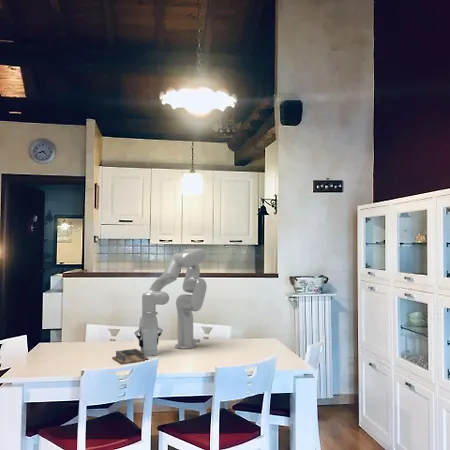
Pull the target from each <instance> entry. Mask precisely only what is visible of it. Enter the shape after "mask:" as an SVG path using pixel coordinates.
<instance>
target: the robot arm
mask: <svg viewBox="0 0 450 450" xmlns="http://www.w3.org/2000/svg"><path fill="white" fill-rule="evenodd" d="M206 258H207V252H206V251H205V249H204V248H186V249H184V250H183V251H182V252H176V253H173V255H171V258H170V259H169V262H168V264H166V267H165V268H164V271H163V272H162V274H161V275H160V276H159V277H158V278H157V279H155V280H154V281H153V283H152V284H151V286H150V287H149V289H148V291H147V292H144V293H142V295H141V301H142V302H141V311H142V312H141V317H140V318H139V326H138V329H137V330H135V331H134V333H133V334H134V335H135V338H137V340H138V346H139V348H141V347H143V340H142V339H143V330H150V329H157V346H158V345H159V338H160V337H161V336H162V334H163V331H164V330H163V329H162V328H160V327H159V323H158V316H157V315H158V314H159V313H158V311H156V309H157V307H156V306H157V305H158V306H159V305H160V306H164V305H166V304H168V303H169V301H170V295H169V294H168V293H167V292H165V291H162V289H163V288H164V287H166V286H167V285H170V284H171V283H174V282H176V281H177V279H178V277H179V274H180V272H181V271H182V269H183V268H186V271H185V276H184V279H183V283H182V290H183V292H185V294H180V295H179V296H177V297H176V300H175V306H176V307H175V308H176V311H177V312H176V313H177V343H176V344H175V345H174V347H175V348H176V349H180V350H181V349H182V350H186V349H194V348H196V347H197V345H196V343H201V339H199V338H194V315H193V312H198V311H201V309H202V307H203V304H204V301H205V297H206V292H207V288H208V286H207V282H206V280H205V279H204V278H201V277H200V273H201V268H200V265H199V264H201V263H203V262H205V260H206ZM186 293H189V294H186ZM140 331H141V334H140ZM141 335H142V336H141Z"/></svg>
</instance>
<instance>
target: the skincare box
mask: <svg viewBox="0 0 450 450" xmlns="http://www.w3.org/2000/svg"><path fill="white" fill-rule="evenodd" d="M140 334H141V331H140ZM140 334H139V335H140ZM157 334H158V333H157V329H150V330H143V339H142V340H143V347H140V351H142V352H144V357H146V358H147V357H151V356H156V355H158V345H157ZM141 336H142V335H141Z"/></svg>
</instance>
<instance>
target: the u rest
mask: <svg viewBox="0 0 450 450" xmlns="http://www.w3.org/2000/svg"><path fill="white" fill-rule="evenodd" d="M111 359H112V360H114V361H115V362H116V363H118V364H120V365H127V364H135V363H142V362H141V361H143V362H146V361H145V360H149V361H150V359H149V358H148V357H147V356H146V357H144V352H142V351H141V349H137V348H131V349H130V348H129V349H123V350H115V356H112V358H111Z"/></svg>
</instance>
